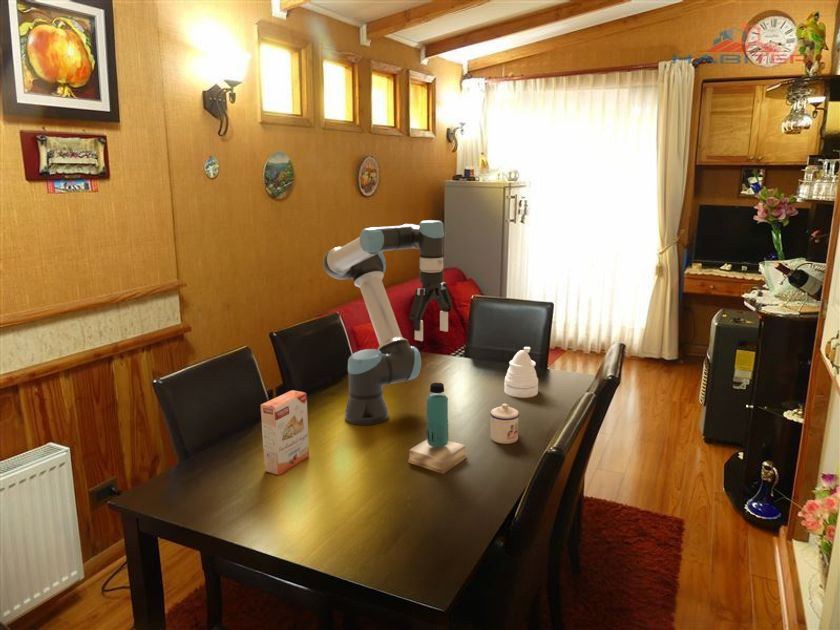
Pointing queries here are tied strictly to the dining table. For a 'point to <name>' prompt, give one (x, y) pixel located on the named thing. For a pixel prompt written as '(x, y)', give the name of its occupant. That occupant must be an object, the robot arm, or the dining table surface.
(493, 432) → the teacup with lid
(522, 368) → the honey pot
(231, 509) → the dining table surface
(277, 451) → the cracker box
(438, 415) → the beverage bottle
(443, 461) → the tan flat square block
